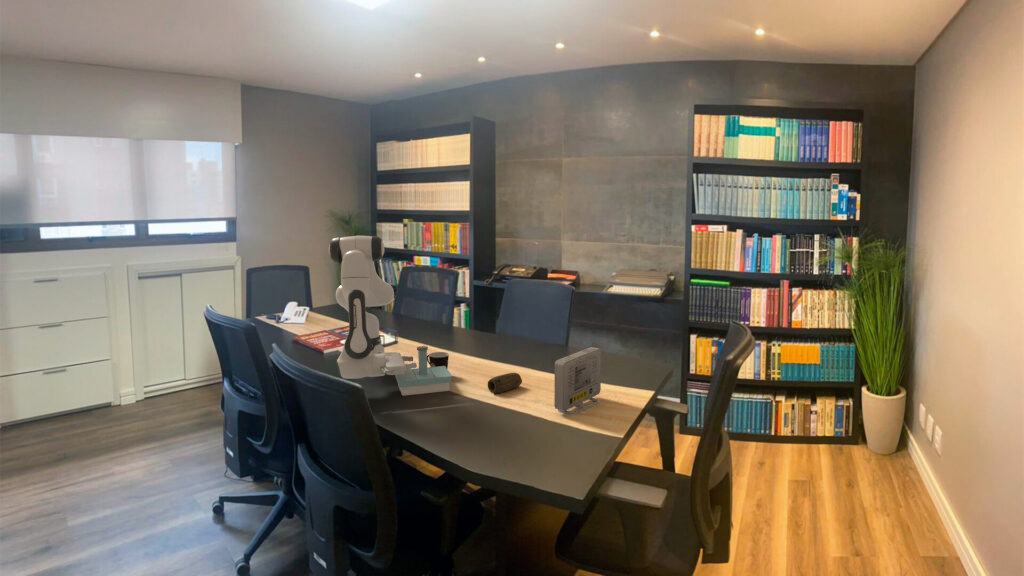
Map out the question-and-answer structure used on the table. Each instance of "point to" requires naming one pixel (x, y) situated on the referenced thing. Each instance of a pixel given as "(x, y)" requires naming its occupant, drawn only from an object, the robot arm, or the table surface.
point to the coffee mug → (438, 359)
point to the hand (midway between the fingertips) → (414, 361)
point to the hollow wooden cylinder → (504, 382)
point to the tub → (425, 388)
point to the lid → (424, 372)
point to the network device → (577, 380)
